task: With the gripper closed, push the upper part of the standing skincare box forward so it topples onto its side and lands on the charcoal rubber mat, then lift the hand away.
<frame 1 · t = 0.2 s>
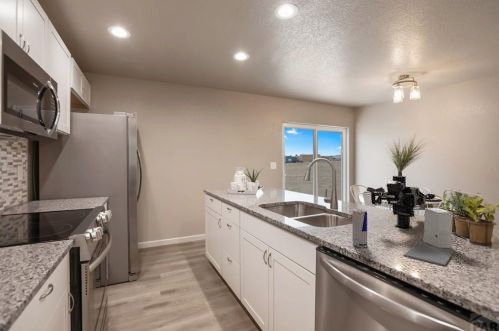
hand: (385, 202, 111), 16 cm above the worktop, tool horizontal, fingers open, 9 cm apart
skincare box: (437, 245, 101), on the worktop
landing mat: (429, 254, 92), on the worktop
beverage can: (359, 246, 102), on the worktop
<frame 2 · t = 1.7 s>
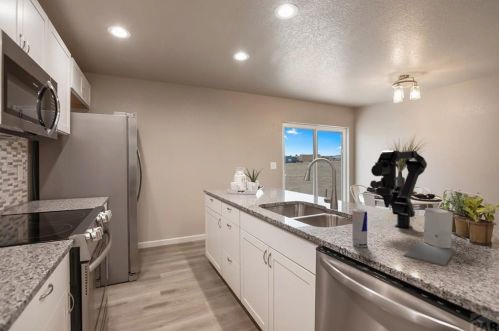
hand: (389, 206, 122), 12 cm above the worktop, tool pointing down, fingers open, 6 cm apart
nothing on the worktop moved.
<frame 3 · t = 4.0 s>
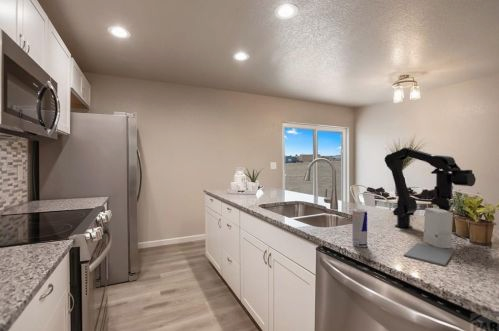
hand: (443, 218, 110), 9 cm above the worktop, tool pointing down, fingers closed
nothing on the worktop moved.
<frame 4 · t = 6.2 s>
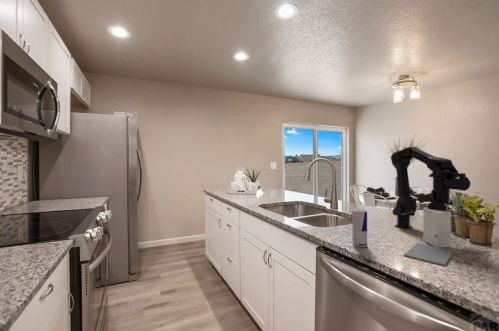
hand: (441, 223, 105), 8 cm above the worktop, tool pointing down, fingers closed, pressing on skincare box
skincare box: (437, 244, 101), on the worktop, touching gripper
everything else where it was.
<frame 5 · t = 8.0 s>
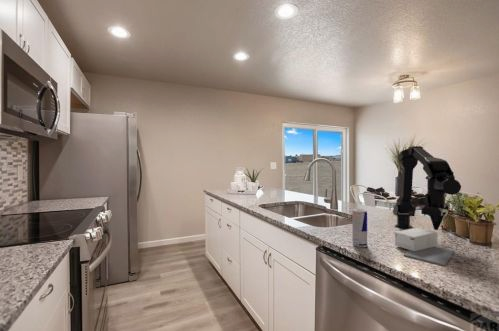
hand: (436, 229, 99), 7 cm above the worktop, tool pointing down, fingers closed
skincare box: (428, 236, 102), point 4 cm above the worktop, touching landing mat
everything else where it was.
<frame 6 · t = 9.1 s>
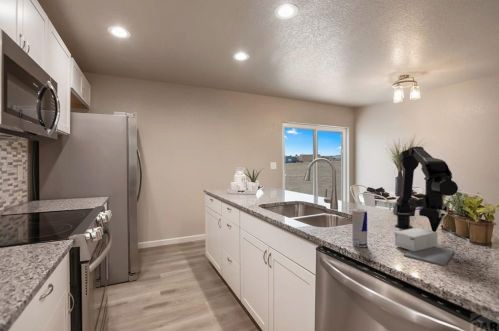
hand: (434, 231, 97), 7 cm above the worktop, tool pointing down, fingers closed
nothing on the worktop moved.
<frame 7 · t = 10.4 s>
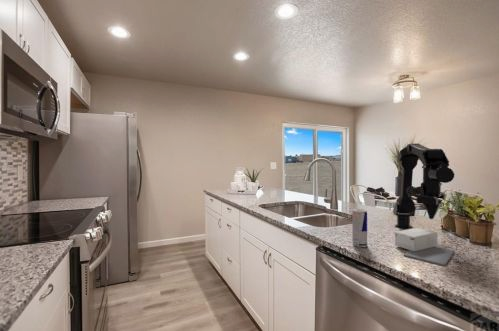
hand: (431, 218, 98), 12 cm above the worktop, tool pointing down, fingers closed
nothing on the worktop moved.
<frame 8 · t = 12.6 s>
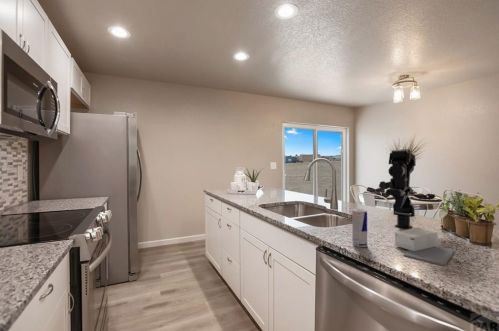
hand: (399, 208, 117), 12 cm above the worktop, tool pointing down, fingers closed
nothing on the worktop moved.
at the end: skincare box tilted 91°; skincare box touching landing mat; skincare box inside the target area (3.9 cm from its centre), point 3.6 cm above the worktop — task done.
